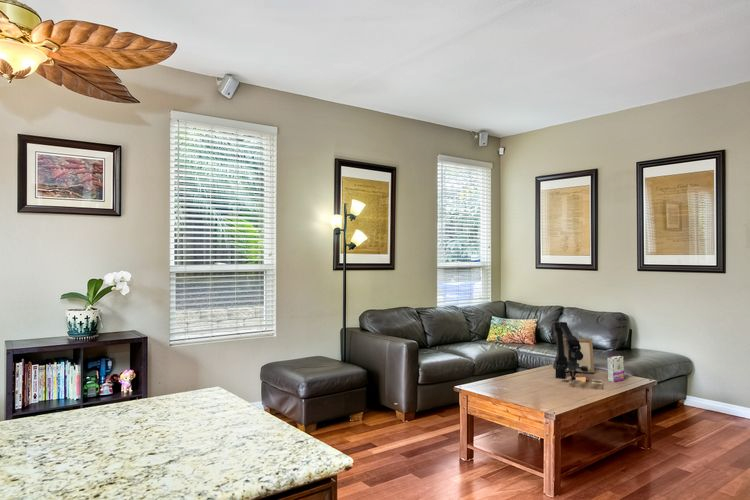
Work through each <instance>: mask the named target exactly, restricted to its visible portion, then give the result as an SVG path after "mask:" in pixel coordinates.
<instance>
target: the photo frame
mask: <svg viewBox="0 0 750 500" xmlns="http://www.w3.org/2000/svg"><path fill="white" fill-rule="evenodd" d="M576 338H577V337H576ZM577 339H578V341H579V343H580V346H581V350H580V352H582V354H583V359H582V360H577V363H579V367H582V366H588V372H585V373H586V374H587V373H590V374H591V373H593V374H594V373H595V364H594V363H595V362H594V349H593V348H594V347H593V338H584V337H583V338H577ZM563 345H564V355H565V357H567V361H568V349H567V348H568V347H567V345H566V338H565V337H563ZM577 347H578V346H577ZM565 371H566V373H569V372H568V371H567V369H565ZM572 373H574V370H572ZM578 373H584V372H583V371H582V370H579V372H578Z"/></svg>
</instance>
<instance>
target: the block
mask: <svg viewBox="0 0 750 500" xmlns="http://www.w3.org/2000/svg"><path fill="white" fill-rule="evenodd" d="M575 377H576V380H580V381H581V382H586V379H587V376H586V375H575Z"/></svg>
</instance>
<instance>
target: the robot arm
mask: <svg viewBox="0 0 750 500" xmlns="http://www.w3.org/2000/svg"><path fill="white" fill-rule="evenodd" d="M551 327H552V330H553V331H552V332H553V333H554V334H555V344H556V356H555V358H554V362H553V364H552V368H553V369H554V370H555V378H556V379H566V378H567V373H569V374H570V378H572V381H573V380H574V378H575V377H576V374H577V373H580V372H579V370H582V371H583V372H582V373H586V372H588V366H582V367H579V363H577V360H582V359H583V354H582V352H580V350H581V346H580V343H579V341H578V339H577V337H576V336H575V335H573V333H572V332H571V329H570V327H569V326H568V322H566V321H553V322H552V324H551ZM563 338H566V345H567V347H568V348H567V349H568V361H567V357H565V355H564V345H563ZM577 346H578V347H577ZM565 369H567V371H568V372H566V371H565ZM572 370H574V372H572Z"/></svg>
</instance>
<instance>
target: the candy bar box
mask: <svg viewBox="0 0 750 500" xmlns="http://www.w3.org/2000/svg"><path fill="white" fill-rule="evenodd" d="M606 360H607V381H608V382H610V383H611V382H613V383H616V382H617V381H618V382H621V381H625V359H624V356H621V355H614V356H608V357H607V359H606Z"/></svg>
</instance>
